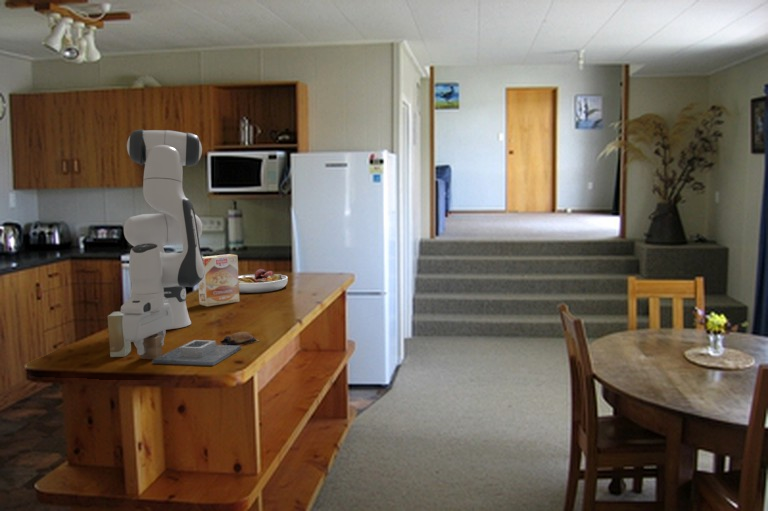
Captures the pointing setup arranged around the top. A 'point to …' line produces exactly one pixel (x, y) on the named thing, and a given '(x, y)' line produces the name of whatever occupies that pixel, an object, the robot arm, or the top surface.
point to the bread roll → (239, 339)
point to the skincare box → (117, 336)
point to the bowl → (261, 282)
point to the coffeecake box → (219, 280)
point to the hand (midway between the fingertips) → (151, 350)
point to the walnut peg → (152, 347)
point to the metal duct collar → (198, 353)
